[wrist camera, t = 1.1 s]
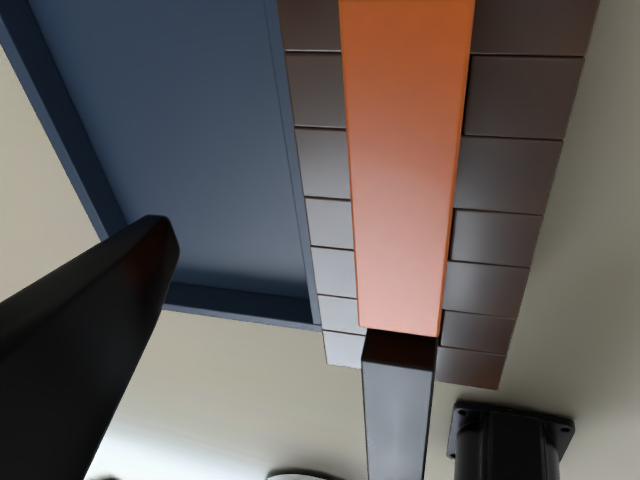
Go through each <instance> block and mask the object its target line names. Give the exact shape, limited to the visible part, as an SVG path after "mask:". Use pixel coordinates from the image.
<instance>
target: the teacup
mask: <svg viewBox="0 0 640 480" xmlns="http://www.w3.org/2000/svg"><path fill="white" fill-rule="evenodd" d="M267 480H325V479H321V478H317V477H312V476H307V475H298V474H282V475H276V476H273V477H270V478H268V479H267Z"/></svg>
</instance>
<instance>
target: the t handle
mask: <svg viewBox="0 0 640 480" xmlns="http://www.w3.org/2000/svg"><path fill="white" fill-rule="evenodd" d="M338 4H339V20H340V36H341V53H342V69H343V85H344V101H345V117H346V133H347V149H348V166H349V182H350V198H351V214H352V230H353V246H354V262H355V279H356V295H357V311H358V324H359V326H360V327H364V328H371V329H379V330H386V331H393V332H401V333H408V334H415V335H423V336H430V337H438V336H439V333H440V324H441V315H442V305H443V296H444V287H445V278H446V268H447V259H448V250H449V241H450V232H451V222H452V213H453V204H454V195H455V185H456V176H457V167H458V158H459V148H460V139H461V130H462V121H463V111H464V102H465V93H466V84H467V74H468V65H469V56H470V47H471V37H472V28H473V19H474V10H475V0H339V1H338Z"/></svg>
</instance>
